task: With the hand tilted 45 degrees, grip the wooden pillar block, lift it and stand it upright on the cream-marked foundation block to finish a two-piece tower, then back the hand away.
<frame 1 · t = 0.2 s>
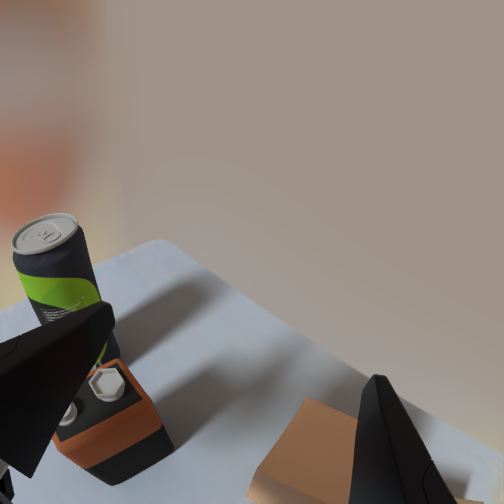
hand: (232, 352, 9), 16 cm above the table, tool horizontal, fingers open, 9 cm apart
battery: (130, 452, 18), on the table
beverage can: (94, 362, 25), on the table
pillar block: (290, 487, 16), on the table
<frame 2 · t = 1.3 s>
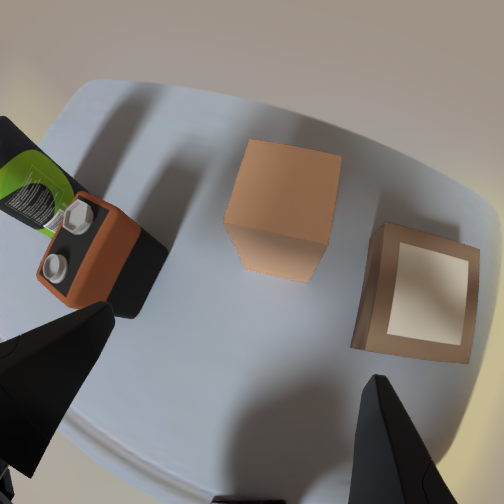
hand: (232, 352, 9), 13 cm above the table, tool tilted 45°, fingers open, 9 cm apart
foundation block: (410, 302, 21), on the table
battery: (135, 275, 24), on the table
beverage can: (74, 217, 27), on the table
pillar block: (283, 246, 23), on the table
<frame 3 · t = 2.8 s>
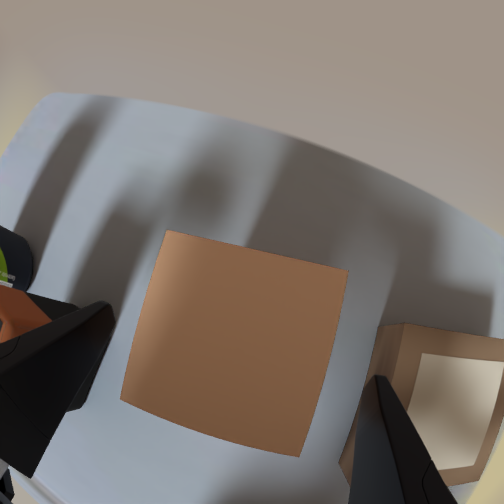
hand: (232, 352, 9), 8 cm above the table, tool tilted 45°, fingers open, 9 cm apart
foundation block: (421, 404, 14), on the table
battery: (78, 357, 17), on the table
beverage can: (17, 272, 20), on the table
pillar block: (257, 339, 16), on the table
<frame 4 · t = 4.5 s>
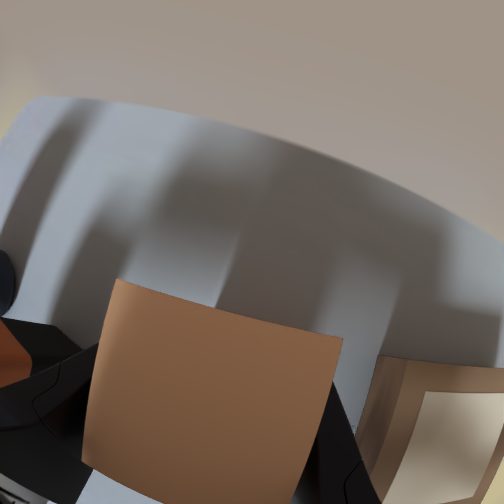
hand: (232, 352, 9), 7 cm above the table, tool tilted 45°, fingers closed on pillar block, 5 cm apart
foundation block: (422, 433, 12), on the table
battery: (61, 379, 15), on the table
beverage can: (1, 287, 18), on the table
pillar block: (244, 369, 15), on the table, touching gripper
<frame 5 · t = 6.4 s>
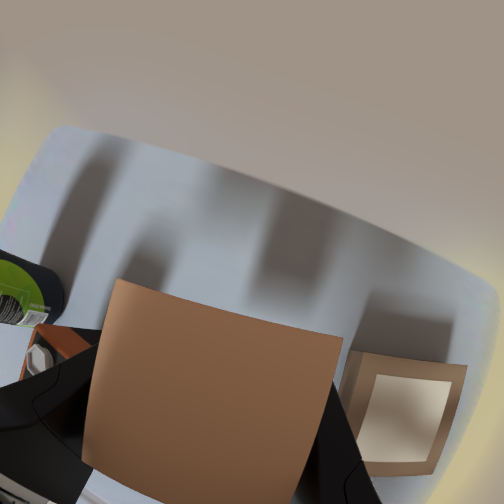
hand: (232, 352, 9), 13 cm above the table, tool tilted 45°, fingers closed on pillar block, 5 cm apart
foundation block: (385, 410, 19), on the table
battery: (110, 372, 22), on the table
beverage can: (48, 299, 24), on the table
pillar block: (244, 369, 15), point 7 cm above the table, touching gripper
when the fingers open (12 cm above the table, at t = 8.3 s): pillar block drops 1 cm, resting on foundation block.
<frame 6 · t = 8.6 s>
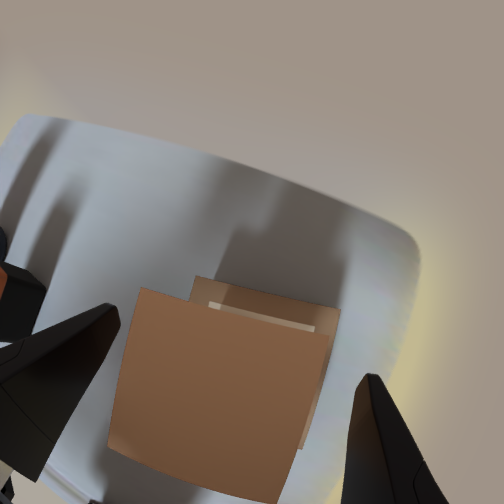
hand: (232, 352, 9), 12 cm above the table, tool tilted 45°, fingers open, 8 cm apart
foundation block: (253, 360, 20), on the table
battery: (28, 307, 23), on the table
pillar block: (247, 366, 16), point 4 cm above the table, touching foundation block
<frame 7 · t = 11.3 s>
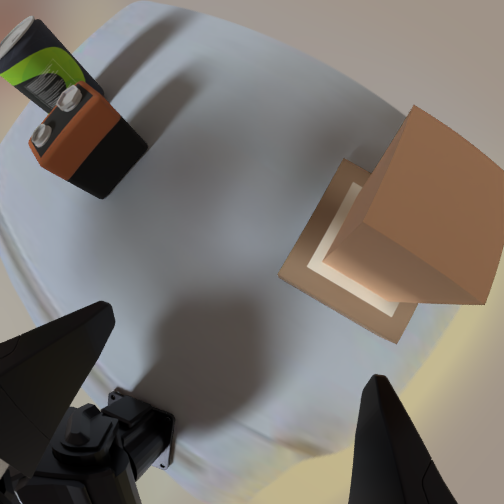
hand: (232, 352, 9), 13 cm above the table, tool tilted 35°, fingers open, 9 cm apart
foundation block: (359, 256, 21), on the table
battery: (116, 164, 25), on the table
beverage can: (86, 110, 27), on the table
pillar block: (374, 247, 17), point 4 cm above the table, touching foundation block
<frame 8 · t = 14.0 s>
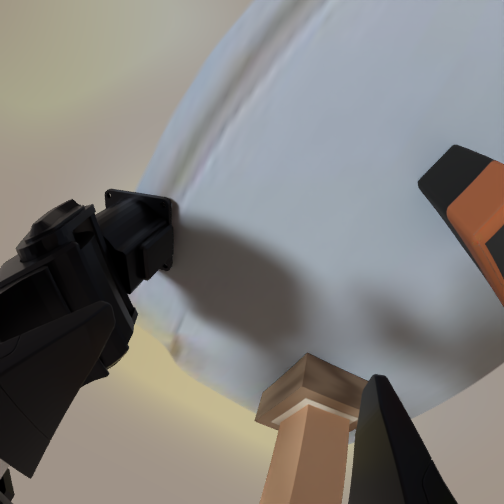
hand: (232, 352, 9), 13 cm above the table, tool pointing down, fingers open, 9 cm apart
foundation block: (317, 390, 28), on the table
battery: (460, 196, 16), on the table
pillar block: (314, 421, 25), point 4 cm above the table, touching foundation block
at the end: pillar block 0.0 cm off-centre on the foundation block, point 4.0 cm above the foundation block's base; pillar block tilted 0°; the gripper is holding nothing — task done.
